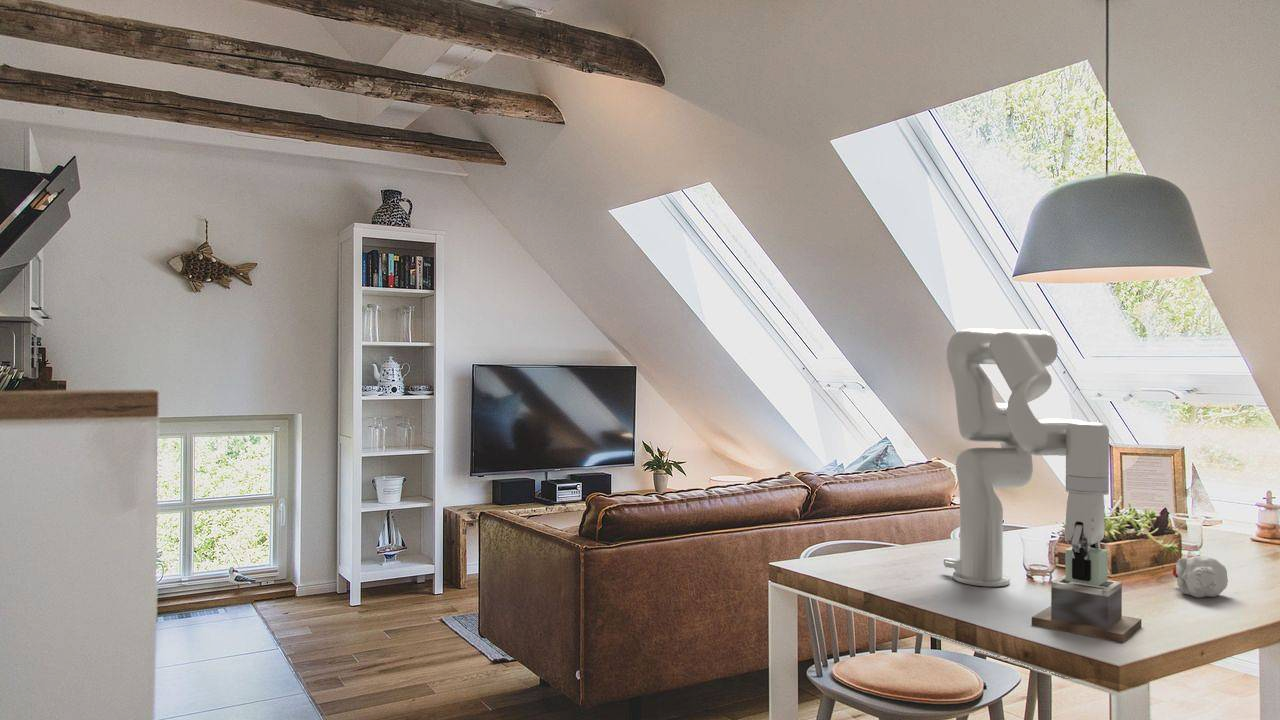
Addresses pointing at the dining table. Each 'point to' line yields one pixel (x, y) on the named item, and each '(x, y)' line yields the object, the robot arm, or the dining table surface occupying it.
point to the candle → (1200, 576)
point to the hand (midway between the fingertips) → (1086, 576)
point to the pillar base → (1089, 630)
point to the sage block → (1097, 566)
